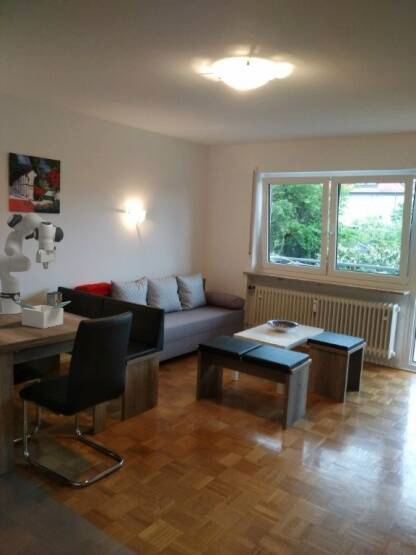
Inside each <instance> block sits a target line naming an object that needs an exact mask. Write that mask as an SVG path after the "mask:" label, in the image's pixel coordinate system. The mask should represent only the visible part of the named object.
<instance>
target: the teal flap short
mask: <svg viewBox="0 0 416 555" xmlns="http://www.w3.org/2000/svg"><path fill="white" fill-rule="evenodd" d="M71 302H72V301H71V300H69V301H65V302H63V301H62V303H60V304H58V305H57V306H55V307H53V308H52V309H57V308H61V307H62V308H63V307H64V306H66V305H68V304H70V303H71ZM52 309H51V310H52Z"/></svg>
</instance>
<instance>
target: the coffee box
mask: <svg viewBox="0 0 416 555" xmlns="http://www.w3.org/2000/svg"><path fill="white" fill-rule="evenodd" d="M60 303H63V292H62V291H50V292H47V293H46V306H52V307H55V306H57V305H58V304H60ZM61 308H63V307H61Z"/></svg>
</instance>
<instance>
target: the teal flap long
mask: <svg viewBox="0 0 416 555" xmlns="http://www.w3.org/2000/svg"><path fill="white" fill-rule="evenodd" d="M20 302H21V301H20ZM20 302H14V303H16V304H18V305H20V306H21V308H29V309H35V310H36V308H34V307H33V306H31V305H30V304H28V303H25V302H21V303H20Z"/></svg>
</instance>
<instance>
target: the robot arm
mask: <svg viewBox="0 0 416 555" xmlns="http://www.w3.org/2000/svg"><path fill="white" fill-rule="evenodd" d="M6 224H7V226H8V227H9V228H10V229H13V231H12V230H11V232H9V233H8V235H7V237H6V239H5V242H4V243H5V244H4V249H3V250H4V253H5V255H4V254H3V255H0V284H1V291H0V315H15V314H20V313H21V314H22V306H20V305H18V304H16V303H14V302H20V303H22V302H21V298H20V297H21V292H20V281H19V279H18V278H17V277H15V276H14V275H13V276H12V275H11V272H12V273H23V272H28V271H29V270H30V269H31V267H32V262H31V259H30V257H28V256H26V255H25V254H23V243H24V239H25V240H27V241H28V240H31V239H34V240H36V242H38V249H37V251H36V254H35V262H36V263H37V264H42V266H43V270H48V269H49V264H50V263H51V262H55V261H56V257H57V251H56V250H57V246H56V245H55V244H54V243H60V242H61V241H62V240H63V239H64V231H63V229H62V228H61V227H60V226H57V225H54V224H53V223H52V222H50V221H48V220H45V219H43V218H42V217H41V216H39V215H38V214H37V213H35V212H28V213H26V214H25V215H22V214H21V213H20V214H18V213H12V214H11V215H10V216H9V217H8V219H7V221H6Z"/></svg>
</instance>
